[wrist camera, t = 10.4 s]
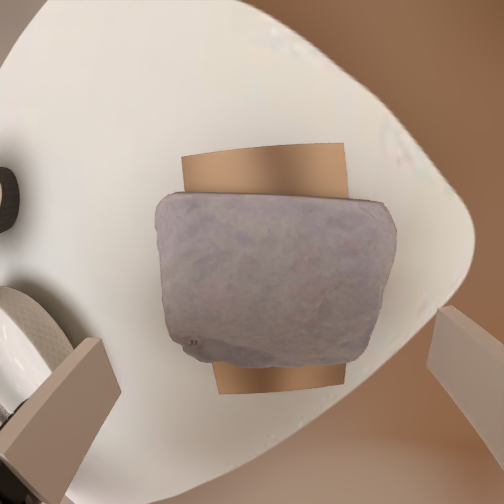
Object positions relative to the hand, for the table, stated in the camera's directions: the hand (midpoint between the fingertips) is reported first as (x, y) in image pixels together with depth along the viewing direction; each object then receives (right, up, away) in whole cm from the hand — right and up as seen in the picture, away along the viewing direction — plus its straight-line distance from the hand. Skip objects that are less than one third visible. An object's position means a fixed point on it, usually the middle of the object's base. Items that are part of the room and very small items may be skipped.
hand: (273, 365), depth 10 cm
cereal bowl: (-23, -6, +14) cm, 28 cm away
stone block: (0, +3, +7) cm, 7 cm away
